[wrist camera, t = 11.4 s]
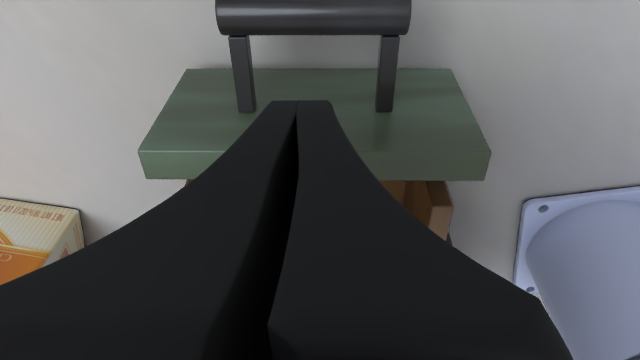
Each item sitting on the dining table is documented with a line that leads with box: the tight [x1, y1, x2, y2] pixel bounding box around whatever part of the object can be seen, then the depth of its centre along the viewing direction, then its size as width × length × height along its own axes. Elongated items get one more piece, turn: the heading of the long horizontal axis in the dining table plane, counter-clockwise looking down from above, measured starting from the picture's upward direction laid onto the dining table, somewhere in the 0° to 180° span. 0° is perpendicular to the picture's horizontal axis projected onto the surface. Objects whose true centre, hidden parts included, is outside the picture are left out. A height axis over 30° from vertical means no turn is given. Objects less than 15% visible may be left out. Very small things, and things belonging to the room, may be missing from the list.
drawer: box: [138, 0, 491, 241], centre depth 19 cm, size 17×11×6 cm
